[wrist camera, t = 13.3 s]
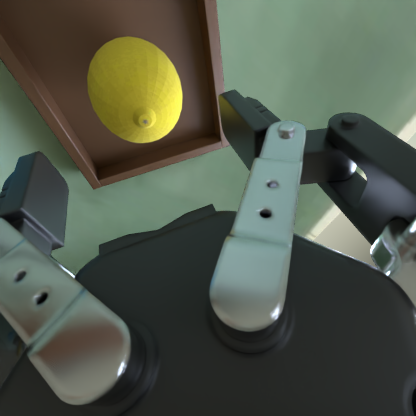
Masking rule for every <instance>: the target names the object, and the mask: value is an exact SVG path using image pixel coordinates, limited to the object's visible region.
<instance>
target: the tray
mask: <svg viewBox="0 0 416 416" xmlns="http://www.w3.org/2000/svg"><path fill="white" fill-rule="evenodd" d="M127 36H129V37H135V38H141V39H143V40H146V41H148V42H150V43H152V44H154V45H155V46H156V47H158V48H159V49H160V50H161V51H163V52H164V53H165V54H166V56H167V57H168V58H169V60H170V61H171V62H172V64H173V65H174V67H175V69H176V72H177V74H178V76H179V79H180V83H181V88H182V109H181V112H180V116H179V119H178V121H177V122H176V124H175V126H174V127H173V129H172V130H171V131H170V132H169V133H168V134H167V135H165V136H164V137H162V138H160V139H158V140H156V141H153V142H148V143H136V142H130V141H127V140H124V139H122V138H120V137H119V136H117V135H115V134H114V133H112V132H111V131H110V130H109V129H108V128H107V127H106V126H105V125H104V124H103V123H102V122H101V120H100V119H99V117H98V115H97V114H96V112H95V111H94V109H93V106H92V103H91V100H90V97H89V94H88V83H87V76H88V71H89V66H90V63H91V61H92V59H93V57H94V55H95V54H96V52H97V51H98V50H99V49H100V48H101V47H102V46H103V45H104V44H105V43H107V42H109V41H111V40H113V39H115V38H120V37H127ZM0 58H1V60H2V61H3V63H4V64H5V65H6V67H7V68H8V70H9V71H10V73H11V74H12V75H13V77H14V78H15V80H16V81H17V82H18V84H19V85H20V87H21V88H22V89H23V91H24V92H25V94H26V95H27V96H28V98H29V99H30V101H31V102H32V103H33V105H34V106H35V108H36V109H37V110H38V112H39V113H40V115H41V116H42V118H43V119H44V120H45V122H46V123H47V125H48V126H49V127H50V129H51V130H52V132H53V133H54V134H55V136H56V137H57V139H58V140H59V141H60V143H61V144H62V146H63V147H64V148H65V150H66V151H67V153H68V154H69V155H70V157H71V158H72V160H73V161H74V163H75V164H76V165H77V167H78V168H79V170H80V171H81V172H82V174H83V175H84V177H85V178H86V179H87V181H88V182H89V184H90V185H91V186H92V188H93V189H97V188H100V187H102V186H106V185H109V184H112V183H115V182H118V181H121V180H124V179H127V178H131V177H134V176H137V175H140V174H143V173H146V172H149V171H152V170H155V169H158V168H162V167H165V166H168V165H171V164H174V163H177V162H180V161H183V160H186V159H190V158H193V157H196V156H199V155H202V154H205V153H208V152H211V151H214V150H217V149H221V148H224V147H227V146H230V144H229V142H228V141H227V139H226V138H225V136H224V133H223V130H222V125H221V117H220V109H219V101H218V96H219V94H222V93H225V89H224V78H223V67H222V57H221V46H220V35H219V25H218V14H217V3H216V0H0Z"/></svg>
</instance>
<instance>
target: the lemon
mask: <svg viewBox="0 0 416 416" xmlns="http://www.w3.org/2000/svg"><path fill="white" fill-rule="evenodd" d="M87 83H88V94H89V97H90V100H91V103H92V106H93V109H94V111H95V112H96V114H97V115H98V117H99V119H100V120H101V122H102V123H103V124H104V125H105V126H106V127H107V128H108V129H109V130H110V131H111V132H112V133H114V134H115V135H117V136H119V137H120V138H122V139H124V140H127V141H130V142H136V143H148V142H153V141H156V140H158V139H160V138H162V137H164V136H165V135H167V134H168V133H169V132H170V131H171V130H172V129H173V127H174V126H175V124H176V122H177V121H178V119H179V116H180V112H181V109H182V88H181V83H180V79H179V76H178V74H177V72H176V69H175V67H174V65H173V64H172V62H171V61H170V60H169V58H168V57H167V56H166V54H165V53H164V52H163V51H161V50H160V49H159V48H158V47H156V46H155V45H154V44H152V43H150V42H148V41H146V40H143V39H141V38H135V37H129V36H127V37H120V38H115V39H113V40H111V41H109V42H107V43H105V44H104V45H103V46H102V47H101V48H100V49H99V50H98V51H97V52H96V54H95V55H94V57H93V59H92V61H91V63H90V66H89V71H88V76H87Z"/></svg>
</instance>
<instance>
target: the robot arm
mask: <svg viewBox="0 0 416 416" xmlns="http://www.w3.org/2000/svg"><path fill="white" fill-rule="evenodd" d="M218 101H219V109H220V117H221V125H222V130H223V133H224V136H225V138H226V139H227V141H228V142H229V144H230V145H231V146H232V148H233V149H234V150H235V152H236V153H237V154H238V156H239V157H240V158H241V160H242V161H243V162H244V164H245V165H246V166H247V168H248V169H249V171H250V173H249V177H248V180H247V183H246V186H245V189H244V192H243V195H242V199H241V202H240V205H239V208H238V211H237V212H236V211H216V210H215V208H214V206H213V204H210V205H208V206H205V207H202V208H199V209H197V210H194V211H191V212H188V213H186V214H184V215H182V216H181V217H179V218H177V219H176V220H174V221H172V222H171V223H169V224H167V225H166V226H164V227H162V228H161V229H158V230H154V231H148V232H141V233H134V234H128V235H125V236H122V237H120V238H117V239H114V240H111V241H109V242H106V243H103V244H100V245H99V255H98V256H96V257H95V258H94V259H92V260H91V261H90V262H88V263H87V264H86V265H85V266H84V267H83V268H82V269H81V270H80V271H79V272H78V273H77V274H76V276H75V275H74V274H72V273H71V272H70V271H69V270H68V269H66V268H65V267H64V266H63V265H62V264H60V263H59V262H58V261H57V260H55V259H54V258H53V257H52V256H50V255H51V251H52V250H55V249H58V248H61V247H63V246H64V237H65V226H66V215H67V204H68V193H69V190H68V186H67V183H66V181H65V180H64V178H63V177H62V176H61V174H60V173H59V172H58V171H57V170H56V168H55V167H54V166H53V165H52V163H51V162H50V161H49V160H48V158H47V157H46V156H45V155H44V154H43V153H42V152H40V151H37V152H34V153H31V154H28V155H25V156H21V157H19V159H18V162H17V165H16V168H15V171H14V172H13V173H12V174H11V175H10V176H9V177H8V178H7V180H6V181H5V182H4V185H3V188H2V192H1V193H0V416H416V149H415V148H413V147H411V146H410V145H409V144H407V143H406V142H404V141H403V140H401V139H400V138H398V137H397V136H395V135H393V134H392V133H390V132H389V131H387V130H386V129H384V128H383V127H381V126H380V125H378V124H377V123H375V122H374V121H372V120H371V119H369V118H368V117H366V116H364V115H361V114H357V113H340V114H337V115H334V116H333V117H331V118H330V119H329V122H328V126H327V128H325V129H317V130H307V131H306V127H305V126H304V125H303V124H301V123H299V122H296V121H281V120H280V119H279V118H277V117H276V116H275V115H274V114H273V113H272V112H270V111H269V110H268V109H267V108H266V107H265V106H263V105H262V104H261V103H260V102H259V101H258V100H256V99H253V98H250V97H246V98H244V97H243V96H242V95H240V94H239V93H238V92H237V91H236V90H231V91H228V92H225V93H222V94H219V96H218ZM356 165H357V166H358V167H359V168H360V169H362V170H363V171H364V173H365V174H366V177H367V181H366V180H365V179H364V178H363V177H362V176H361V175H359V174H358V173H357V172H356V171H355V168H356ZM312 183H317V184H318V185H319V186H320V187H321V188H322V189H323V191H324V192H325V193H326V194H327V195H328V196H329V197H330V198H331V200H332V201H333V202H334V203H335V204H336V205H337V206H338V208H339V209H340V210H341V211H342V212H343V213H344V214H345V216H346V217H347V218H348V219H349V220H350V221H351V222H352V223H353V225H354V226H355V227H356V228H357V229H358V230H359V232H360V233H361V234H362V235H363V236H364V237H365V238H366V239H367V241H368V242H369V243H370V244H371V245H372V248H371V257H372V260H373V262H374V263H375V265H376V266H377V268H376V267H373V266H371V265H369V264H367V263H365V262H362V261H360V260H357V259H355V258H353V257H350V256H348V255H345V254H343V253H340V252H338V251H336V250H333V249H331V248H328V247H326V246H323V245H321V244H319V243H316V242H314V241H312V240H309V239H307V238H304V237H302V236H299V235H297V234H295V233H293V232H294V225H295V217H296V210H297V202H298V195H299V187H300V185H301V184H312Z"/></svg>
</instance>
